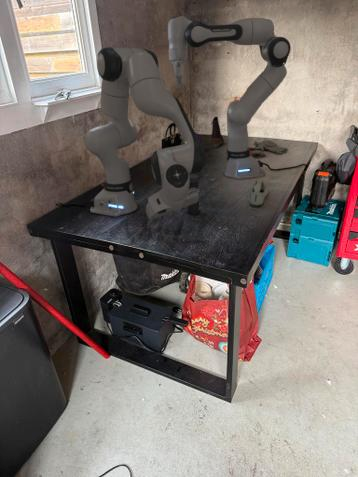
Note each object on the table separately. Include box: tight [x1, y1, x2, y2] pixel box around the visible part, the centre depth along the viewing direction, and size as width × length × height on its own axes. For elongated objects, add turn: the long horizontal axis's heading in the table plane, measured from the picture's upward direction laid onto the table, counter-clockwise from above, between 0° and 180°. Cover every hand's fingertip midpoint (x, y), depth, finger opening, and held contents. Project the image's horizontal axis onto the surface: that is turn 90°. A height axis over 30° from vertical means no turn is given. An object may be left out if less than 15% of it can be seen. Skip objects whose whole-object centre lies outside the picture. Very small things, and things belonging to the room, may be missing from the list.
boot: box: [210, 116, 225, 149], centre depth 246 cm, size 9×24×20 cm, turn 168°
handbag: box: [160, 122, 185, 149], centre depth 210 cm, size 21×9×25 cm, turn 148°
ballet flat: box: [249, 179, 269, 207], centre depth 158 cm, size 8×24×8 cm, turn 163°
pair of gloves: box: [247, 139, 289, 158], centre depth 226 cm, size 30×26×5 cm
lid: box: [189, 173, 200, 183], centre depth 141 cm, size 6×6×2 cm
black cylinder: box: [187, 181, 200, 216], centre depth 145 cm, size 5×5×17 cm
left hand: (171, 212), depth 126 cm, fingers open, 8 cm apart
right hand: (179, 86), depth 168 cm, fingers open, 8 cm apart
